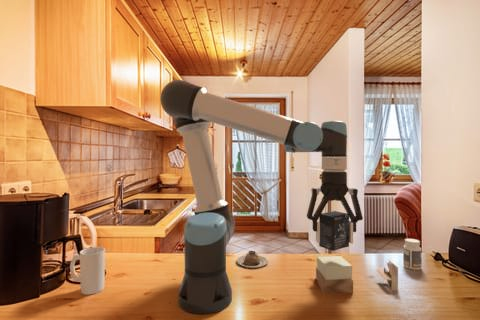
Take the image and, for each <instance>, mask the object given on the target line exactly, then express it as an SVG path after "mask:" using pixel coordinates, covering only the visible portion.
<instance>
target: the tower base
mask: <svg viewBox="0 0 480 320" xmlns="http://www.w3.org/2000/svg"><path fill="white" fill-rule="evenodd" d="M315 278H316V281H317V283H318V285H319V287H320V289H321V291H322V292H323V293H324V292H325V293H346V294H347V293H348V294H349V293H352V294H353V293H354V279H353V278H352V279H335V280H326V279H325V278H324V277H323V275H322V274H321V273H320V272H319V270H318V269H317V266H316V268H315Z"/></svg>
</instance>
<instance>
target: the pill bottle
mask: <svg viewBox="0 0 480 320" xmlns="http://www.w3.org/2000/svg"><path fill="white" fill-rule="evenodd" d="M404 243H405V244H404V245H403V248H402V249H403V250H402V251H403V259H402V260H403V261H402V262H403V266H404V267H405V268H406V269H410V270H415V271H419V270H421V269H422V266H423V265H422V263H423V262H422V255H423V254H422V247H420V245H421V241H420V240H419V239H415V238H405V239H404Z"/></svg>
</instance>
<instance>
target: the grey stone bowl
mask: <svg viewBox="0 0 480 320" xmlns="http://www.w3.org/2000/svg"><path fill="white" fill-rule="evenodd" d="M243 262H244V263H243ZM261 262H262V264H260V263H261ZM236 263H237V264H238V266H239V265H240V266H242V267H244V268H246V269H259V268H263V267H264V266H266V265H268V263H269V261H268V259H267V258H266V257H265V256H261V255H258V253H256V251H255V250H249V251H248V253H246V255H242V256H239V257H238V258H237V259H236ZM245 264H246V265H245ZM257 264H260V265H257Z"/></svg>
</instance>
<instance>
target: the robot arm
mask: <svg viewBox="0 0 480 320" xmlns="http://www.w3.org/2000/svg"><path fill="white" fill-rule="evenodd" d="M160 104H161V108H162V109H163V111H164V112H165V113H166V114H167V115H168V116H169V117H171V118H173V121H174V124H175V129H176V132H178V133H180V135H182V140H183V144H184V149H185V154H186V158H187V164H188V168H189V172H190V178H191V182H192V186H193V187H192V188H193V191H194V194H195V200H196V207H195V208H194V210H193V212H194V214H193V215H191V216H190V217H188V218H187V219H186V221H185V223H184V229H183V230H184V231H183V235H184V273H183V274H184V275H183V278H182V281H181V283H180V284H181V285H180V287H179V290H178V294H177V295H178V296H177V297H178V298H177V300H178V306H179V307H180V308H181V310H184V311H185V312H188V313H191V314H195V315H196V314H199V315H207V314H213V313H217V312H219V311H222V310H224V309H225V308H227V307H228V306H230V304H231V303H232V301H233V289H232V287H231V283H230V279H229V277H228V274H227V246H228V244H229V242H230V241H231V239H232V237H233V236H234V233H235V230H236V222H235V218H234V216H233V214H232V213H231V211H230V206H229V203H228V201H226V200H225V199H223V195H222V190H221V184H220V181H219V178H218V172H217V168H216V167H217V166H216V163H215V159H214V153H213V150H212V149H213V148H212V145H211V142H210V140H211V139H210V136H209V132H208V131H209V130H208V129H209V128H210V126H211V123H213V124H216V125H219V126H222V127H226V128H229V129H233V130H236V131H239V132H242V133H246V134H249V135H252V136H255V137H258V138H261V139H265V140H267V141H270V142H273V143H274V142H275V143H277V144H280V145H283V150H284V152H286V153H294V154H295V153H321V170H322V172H321V184H320V185H321V186H320V187H316V188H315V187H312V188H311V198H310V201H309V205H308V209H307V213H306V218H307V219H308V220H309V221H312V230H313V232H315V241H316V243H317V244H319V243H320V222H319V217H320V215H321V213H323V211H324V209H325V207H326V206H327V204H328V203H329V201H330V202H332V201H337V202H339V201H340V203H341V205H342V206H343V208H344V210H345V213H347V214H349V244H350V245H352V244H354V233H356V232H357V223H358V222H359V221H363V213H362V209H361V205H360V201H359V198H358V191H359V190H358V189H357V188H355V187H353V188H350V187H348V172H347V170H348V169H347V168H348V167H347V165H348V162H347V161H348V160H347V159H348V156H347V155H348V153H347V152H348V151H347V150H348V149H347V148H348V145H347V144H348V132H347V130H348V128H347V124H346V122H344V121H341V120H331V121H325V122H324V121H323V122H322V123H321V126H319V125H318V124H317V123H315V122H312V121H302V120H297V119H295V118H291V117H289V116H285V115H281V114H278V113H275V112H272V111H269V110H265V109H262V108H259V107H256V106H253V105H249V104H245V103H243V102H238V101H235V100H233V99H230V98H226V97H223V96H219V95H216V94H213V93H209V92H208V91H207V89H206V88H205V87H202V86H199V85H197V84H194V83H191V82H189V81H187V80H182V79H175V80H172V81H170V82H168V83H167V84H166V85H165V86H164V87H163V88H162V91H161V93H160ZM320 193H321V194H322V195H323V196H322V198H321V201H320V202H319V204H318V206H317V208H316V203H317V199H318V195H319V194H320ZM347 193H348V194H349V195H350V198H351V202H352V206H353V207H352V208H353V209H354V210H352V208H351V207H350V205H349V203H348V201H347V199H346V197H345V196H346V195H347ZM315 208H316V210H315ZM314 210H315V211H314ZM353 211H354V213H353Z"/></svg>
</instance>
